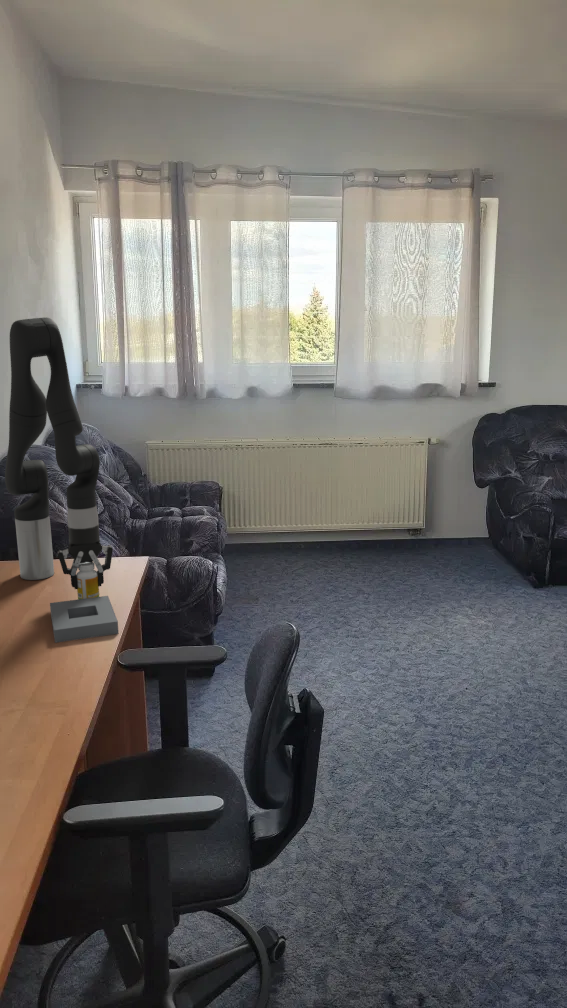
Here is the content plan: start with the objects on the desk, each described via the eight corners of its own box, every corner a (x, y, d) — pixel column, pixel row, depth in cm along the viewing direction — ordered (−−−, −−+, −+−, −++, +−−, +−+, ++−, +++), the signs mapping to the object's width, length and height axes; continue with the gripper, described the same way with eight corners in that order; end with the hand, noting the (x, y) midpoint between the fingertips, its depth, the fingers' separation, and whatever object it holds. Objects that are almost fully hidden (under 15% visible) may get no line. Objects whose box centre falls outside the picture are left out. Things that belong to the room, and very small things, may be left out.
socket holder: (50, 614, 178) (49, 602, 177) (108, 606, 182) (108, 595, 182) (55, 642, 161) (53, 630, 160) (118, 633, 166) (117, 621, 165)
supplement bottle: (102, 596, 190) (100, 560, 188) (95, 603, 185) (92, 567, 182) (82, 595, 190) (80, 560, 188) (74, 602, 185) (72, 566, 183)
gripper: (54, 530, 177) (60, 595, 181) (114, 524, 182) (118, 588, 186) (52, 522, 184) (58, 585, 188) (110, 517, 189) (114, 579, 193)
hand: (87, 586), depth 187 cm, fingers closed on supplement bottle, 5 cm apart
